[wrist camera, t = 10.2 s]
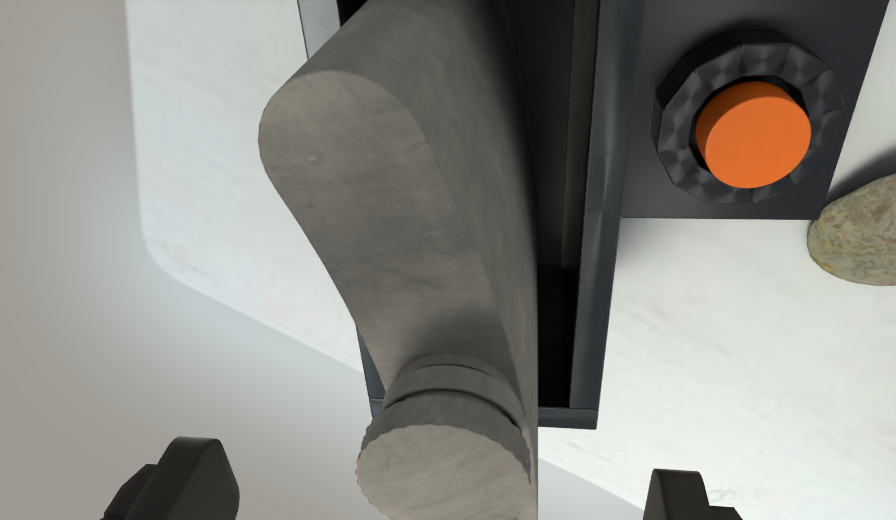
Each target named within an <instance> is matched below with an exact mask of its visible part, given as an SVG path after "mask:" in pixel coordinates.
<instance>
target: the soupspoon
mask: <svg viewBox="0 0 896 520" xmlns="http://www.w3.org/2000/svg"><path fill="white" fill-rule="evenodd" d="M807 247H808V250H809V255H810V256H811V258H812V259H813V261H815V262H816V264H818V265H819V266H820V267H821V268H822V269H823V270H825V271H826V272H828V273H830V274H832V275H834V276H836V277H838V278H841V279H844V280H847V281H850V282H855V283H859V284H866V285H875V286H895V285H896V173H894V174H892V175H889V176H886V177H881V178H880V179H877V180H874V181H873V182H871V183H868V184H867V185H865V186H862V187H861V188H859V189H857V190H855V191H853V192H851V193H849V194H847V195H845V196H843V197H841V198H839V199H838V200H835V201H834V202H831V203H830V204H828V205H827V206H826V207H824V209H823V210H822V212H821V215H820V218H819V220H814V222H813V224H812V225H811V226H810V230H809V232H808V234H807Z"/></svg>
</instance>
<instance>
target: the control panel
mask: <svg viewBox="0 0 896 520" xmlns="http://www.w3.org/2000/svg"><path fill="white" fill-rule="evenodd" d="M888 3H889V0H645V9H644V17H643V26H642V35H641V44H640V52H639V61H638V70H637V79H636V87H635V96H634V105H633V114H632V122H631V131H630V140H629V149H628V157H627V166H626V175H625V184H624V192H623V201H622V210H621V218H682V219H772V220H819V218H820V215H821V212H822V209H823V206H824V203H825V199H826V196H827V193H828V190H829V187H830V184H831V181H832V178H833V174H834V171H835V168H836V165H837V162H838V159H839V156H840V153H841V150H842V146H843V143H844V140H845V137H846V134H847V131H848V128H849V125H850V121H851V118H852V115H853V112H854V109H855V106H856V103H857V100H858V96H859V93H860V90H861V87H862V84H863V81H864V78H865V75H866V72H867V68H868V65H869V62H870V59H871V56H872V53H873V50H874V47H875V43H876V40H877V37H878V34H879V31H880V28H881V25H882V22H883V18H884V15H885V12H886V9H887V6H888ZM747 81H764V82H769V83H772V84H774V85H776V86H778V87H780V88H781V89H783V90H784V91H785V92H786V93H787V94H788V95H789V96H790V97H791V98H792V99H793V100H794V101H795V102H796V103H797V104H798V105H799V106H800V107H801V109H802V110H803V111H804V112H805V114H806V115H807V117H808V119H809V122H810V126H811V139H810V144H809V147H808V149H807V152H806V154H805V155H804V157H803V159H802V160H801V161H800V163H799V164H798V165H797V166H796V167H795V168H794V169H793V170H792V171H791V172H790V173H788V174H787V175H786V176H784V177H783V178H781V179H779V180H777V181H775V182H773V183H771V184H768V185H765V186H761V187H755V188H739V187H734V186H731V185H728V184H726V183H724V182H722V181H720V180H719V179H718V178H716V177H715V176H714V175H713V173H712V172H711V171H710V169H709V167H708V166H707V164H706V162H705V160H704V158H703V156H702V154H701V152H700V150H699V148H698V145H697V141H696V126H697V122H698V119H699V117H700V114H701V113H702V111H703V109H704V108H705V106H706V105H707V104H708V103H709V102H710V100H711V99H713V98H714V97H715V96H716V95H717V94H719V93H720V92H721V91H723V90H725V89H726V88H728V87H730V86H733V85H735V84H738V83H742V82H747Z"/></svg>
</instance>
